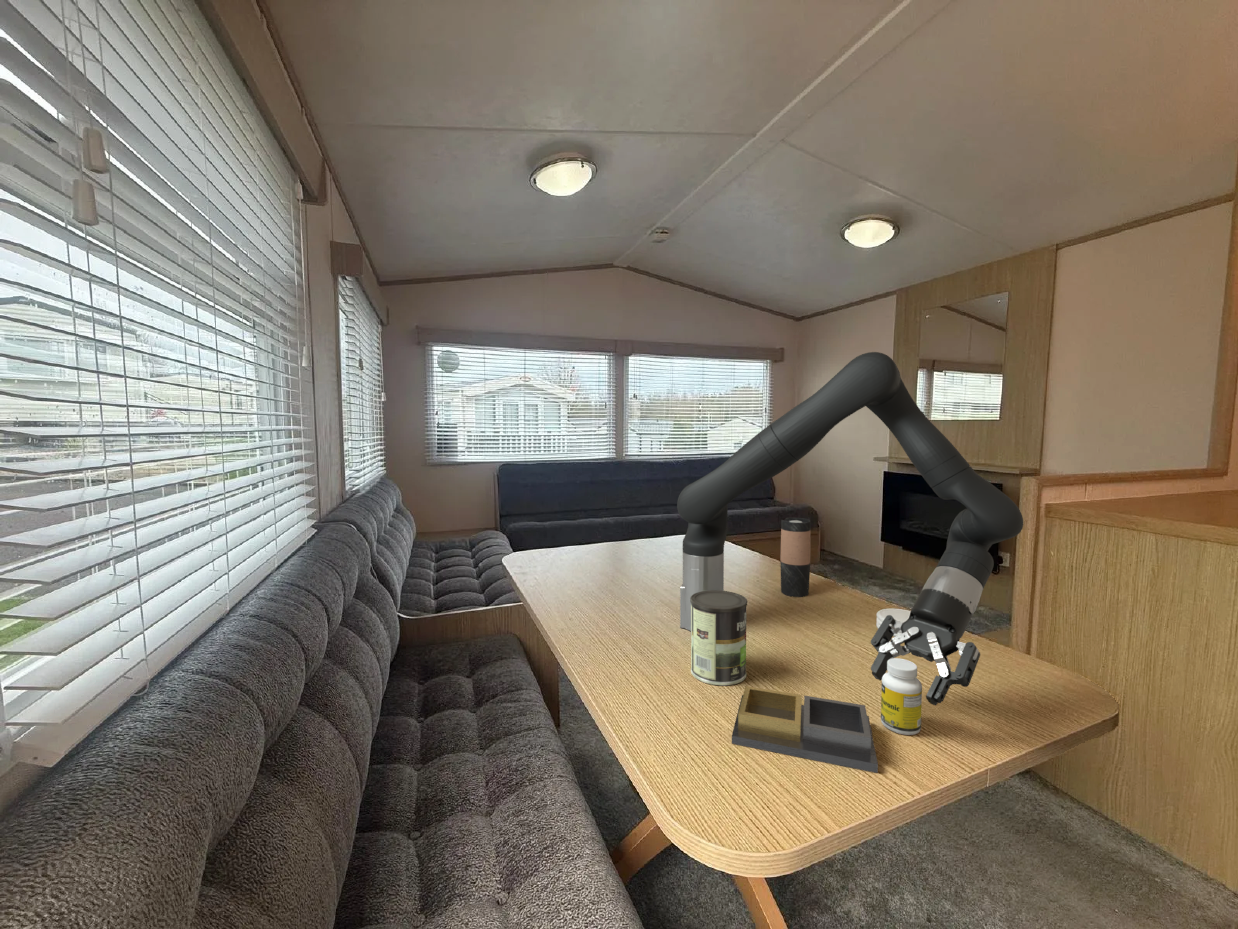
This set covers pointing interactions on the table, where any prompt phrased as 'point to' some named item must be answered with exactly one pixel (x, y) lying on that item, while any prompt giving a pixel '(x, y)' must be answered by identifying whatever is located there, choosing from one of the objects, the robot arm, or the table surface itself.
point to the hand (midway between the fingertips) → (902, 689)
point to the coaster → (895, 613)
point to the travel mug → (795, 556)
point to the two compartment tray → (806, 728)
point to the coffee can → (718, 637)
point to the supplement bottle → (901, 697)
